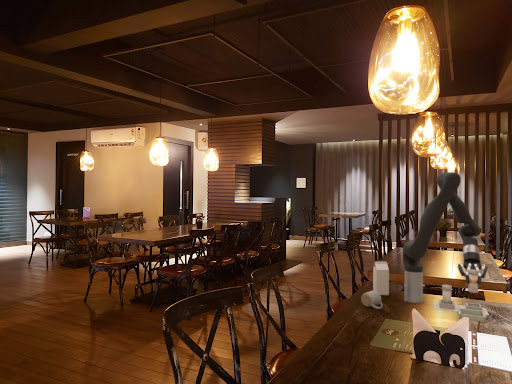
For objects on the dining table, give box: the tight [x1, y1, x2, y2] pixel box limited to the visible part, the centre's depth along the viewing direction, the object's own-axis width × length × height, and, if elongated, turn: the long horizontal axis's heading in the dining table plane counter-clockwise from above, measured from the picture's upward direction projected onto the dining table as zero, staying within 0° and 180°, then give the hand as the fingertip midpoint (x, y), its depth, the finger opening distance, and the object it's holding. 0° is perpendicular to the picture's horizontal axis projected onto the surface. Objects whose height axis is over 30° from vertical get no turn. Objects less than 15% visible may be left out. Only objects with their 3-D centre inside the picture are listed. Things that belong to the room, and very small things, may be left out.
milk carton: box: [372, 261, 390, 296], centre depth 222 cm, size 7×7×19 cm
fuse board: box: [433, 299, 490, 316], centre depth 192 cm, size 24×12×4 cm, turn 66°
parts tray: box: [457, 308, 487, 323], centre depth 179 cm, size 11×10×3 cm
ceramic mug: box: [360, 289, 383, 310], centre depth 198 cm, size 11×8×8 cm
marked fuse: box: [467, 269, 480, 294], centre depth 189 cm, size 4×4×11 cm
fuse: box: [441, 284, 453, 304], centre depth 194 cm, size 4×4×11 cm
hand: (473, 283), depth 188 cm, fingers closed on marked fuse, 4 cm apart
